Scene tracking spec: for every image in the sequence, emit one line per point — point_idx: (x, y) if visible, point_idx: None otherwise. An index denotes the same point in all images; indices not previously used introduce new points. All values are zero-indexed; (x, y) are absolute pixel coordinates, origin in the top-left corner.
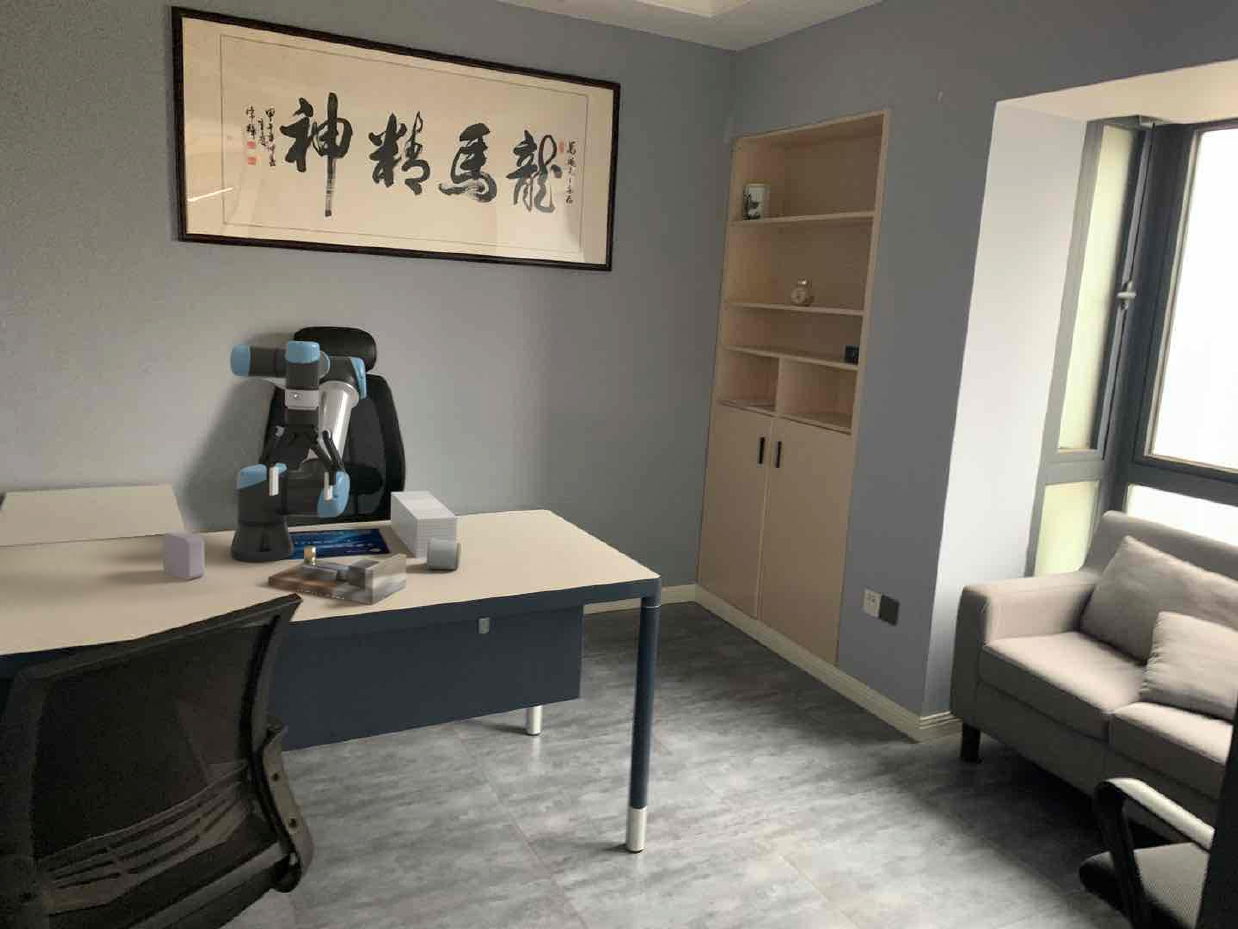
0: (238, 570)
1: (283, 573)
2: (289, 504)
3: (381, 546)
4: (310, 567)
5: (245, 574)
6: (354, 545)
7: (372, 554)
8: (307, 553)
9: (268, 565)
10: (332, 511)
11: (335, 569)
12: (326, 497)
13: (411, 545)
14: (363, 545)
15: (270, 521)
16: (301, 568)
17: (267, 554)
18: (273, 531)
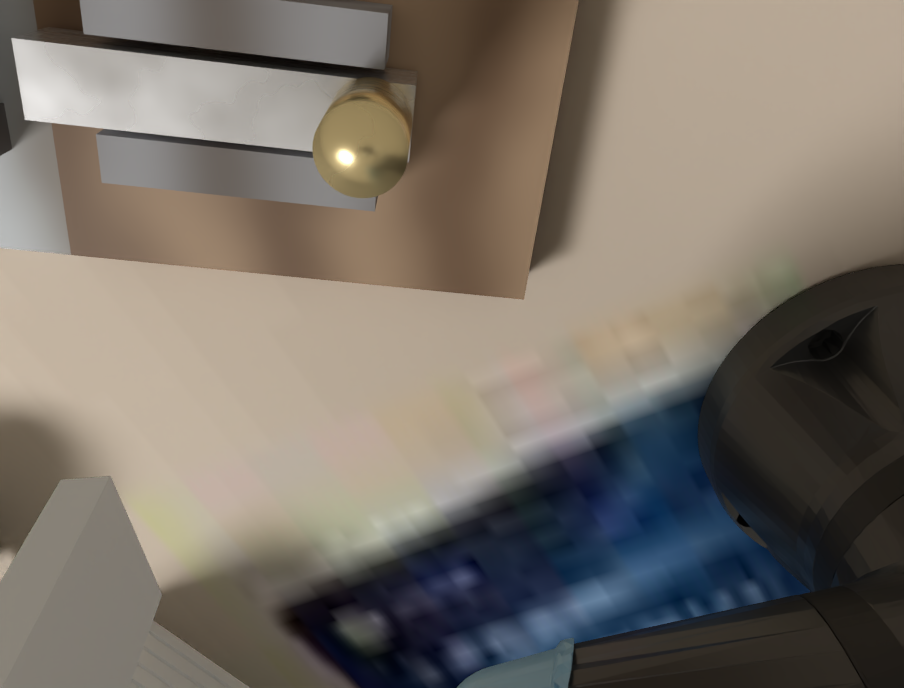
0: (895, 108)
1: (533, 14)
2: (809, 637)
3: (367, 670)
4: (307, 21)
5: (824, 51)
6: (484, 645)
7: (338, 578)
8: (358, 95)
9: (752, 259)
10: (467, 682)
11: (110, 47)
12: (60, 508)
13: (200, 686)
14: (447, 657)
15: (897, 500)
16: (381, 12)
17: (798, 326)
18: (840, 459)
